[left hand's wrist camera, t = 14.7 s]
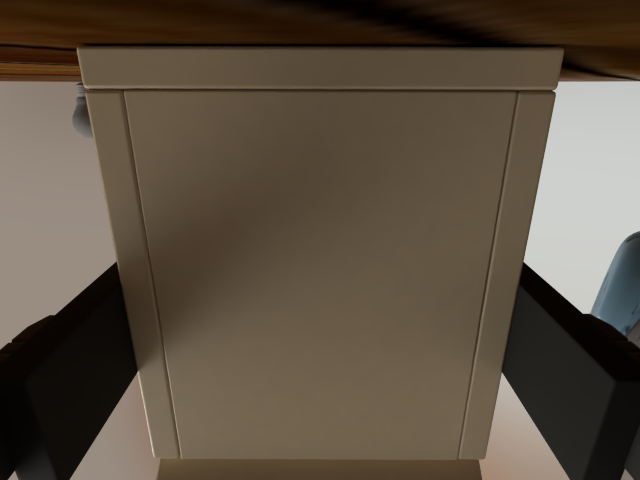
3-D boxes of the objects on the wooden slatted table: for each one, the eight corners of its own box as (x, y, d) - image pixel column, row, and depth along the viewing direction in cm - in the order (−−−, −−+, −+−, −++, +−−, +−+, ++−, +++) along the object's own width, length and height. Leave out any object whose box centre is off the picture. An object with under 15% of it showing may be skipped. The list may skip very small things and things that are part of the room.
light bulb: (93, 82, 71) (104, 140, 74) (106, 82, 76) (116, 136, 80) (57, 82, 70) (70, 140, 74) (73, 82, 76) (84, 136, 79)
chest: (403, 77, 24) (391, 251, 28) (237, 76, 24) (248, 251, 28) (567, 46, 8) (486, 460, 12) (73, 45, 8) (152, 459, 12)
